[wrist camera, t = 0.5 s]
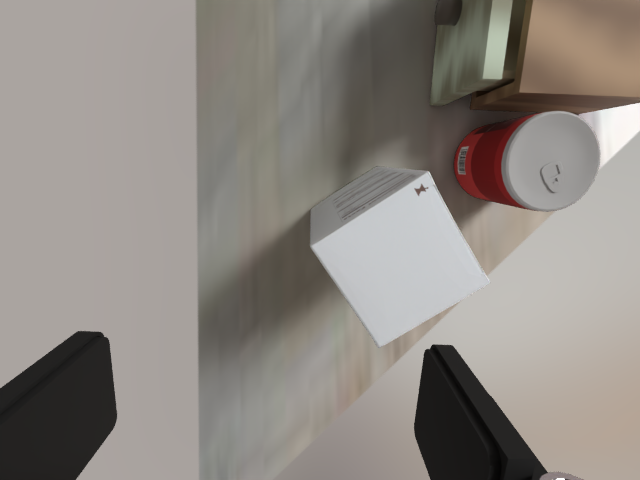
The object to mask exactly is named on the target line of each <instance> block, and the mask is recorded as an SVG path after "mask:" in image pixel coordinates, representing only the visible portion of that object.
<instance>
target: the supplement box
mask: <svg viewBox="0 0 640 480" xmlns="http://www.w3.org/2000/svg"><path fill="white" fill-rule="evenodd" d="M310 224H311V226H310V248H311V249H312V251H313V252H314V253H315V255H316V256H317V258H318V259H319V261H320V262H321V264H322V265H323V267H324V268H325V270H326V271H327V273H328V274H329V275H330V277H331V278H332V280H333V281H334V283H335V284H336V286H337V287H338V289H339V290H340V292H341V293H342V295H343V296H344V298H345V299H346V300H347V302H348V303H349V305H350V306H351V308H352V309H353V311H354V312H355V314H356V315H357V317H358V318H359V320H360V321H361V323H362V324H363V326H364V327H365V328H366V330H367V331H368V333H369V334H370V336H371V337H372V339H373V340H374V342H375V343H376V345H377V347H378V348H380V347H382V346H384V345H385V344H387V343H389V342H391V341H392V340H394V339H396V338H398V337H400V336H401V335H403V334H405V333H406V332H408V331H410V330H411V329H413V328H415V327H416V326H418V325H420V324H421V323H423V322H425V321H427V320H428V319H430V318H432V317H433V316H435V315H437V314H439V313H440V312H442V311H444V310H446V309H447V308H449V307H451V306H453V305H454V304H456V303H458V302H460V301H461V300H463V299H465V298H466V297H468V296H470V295H471V294H473V293H475V292H476V291H478V290H480V289H481V288H483V287H485V286H487V285H488V284H490V280H489V279H488V277H487V276H486V274H485V272H484V271H483V269H482V267H481V266H480V264H479V263H478V261H477V259H476V257H475V256H474V254H473V252H472V250H471V249H470V247H469V245H468V244H467V242H466V240H465V239H464V237H463V235H462V233H461V232H460V230H459V228H458V226H457V224H456V223H455V221H454V219H453V217H452V215H451V213H450V212H449V210H448V208H447V206H446V204H445V202H444V200H443V198H442V196H441V195H440V193H439V191H438V189H437V187H436V185H435V183H434V180H433V178H432V176H431V174H430V172H429V171H423V170H412V169H400V168H390V167H380V166H377V167H375V168H373V169H371V170H370V171H368V172H367V173H365V174H363V175H362V176H360V177H358V178H357V179H355V180H354V181H352V182H351V183H349V184H348V185H346V186H344V187H343V188H341V189H340V190H338V191H337V192H335V193H334V194H332V195H331V196H329V197H328V198H326V199H325V200H323V201H322V202H320V203H319V204H317V205H316V206H314V207H313V208H312V209H311V222H310Z"/></svg>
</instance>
